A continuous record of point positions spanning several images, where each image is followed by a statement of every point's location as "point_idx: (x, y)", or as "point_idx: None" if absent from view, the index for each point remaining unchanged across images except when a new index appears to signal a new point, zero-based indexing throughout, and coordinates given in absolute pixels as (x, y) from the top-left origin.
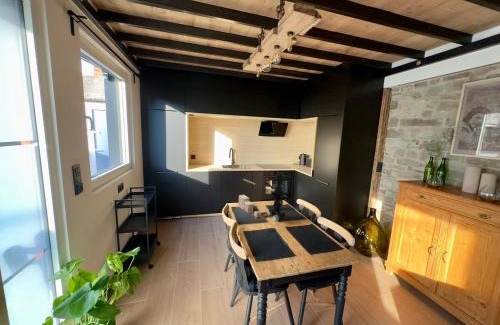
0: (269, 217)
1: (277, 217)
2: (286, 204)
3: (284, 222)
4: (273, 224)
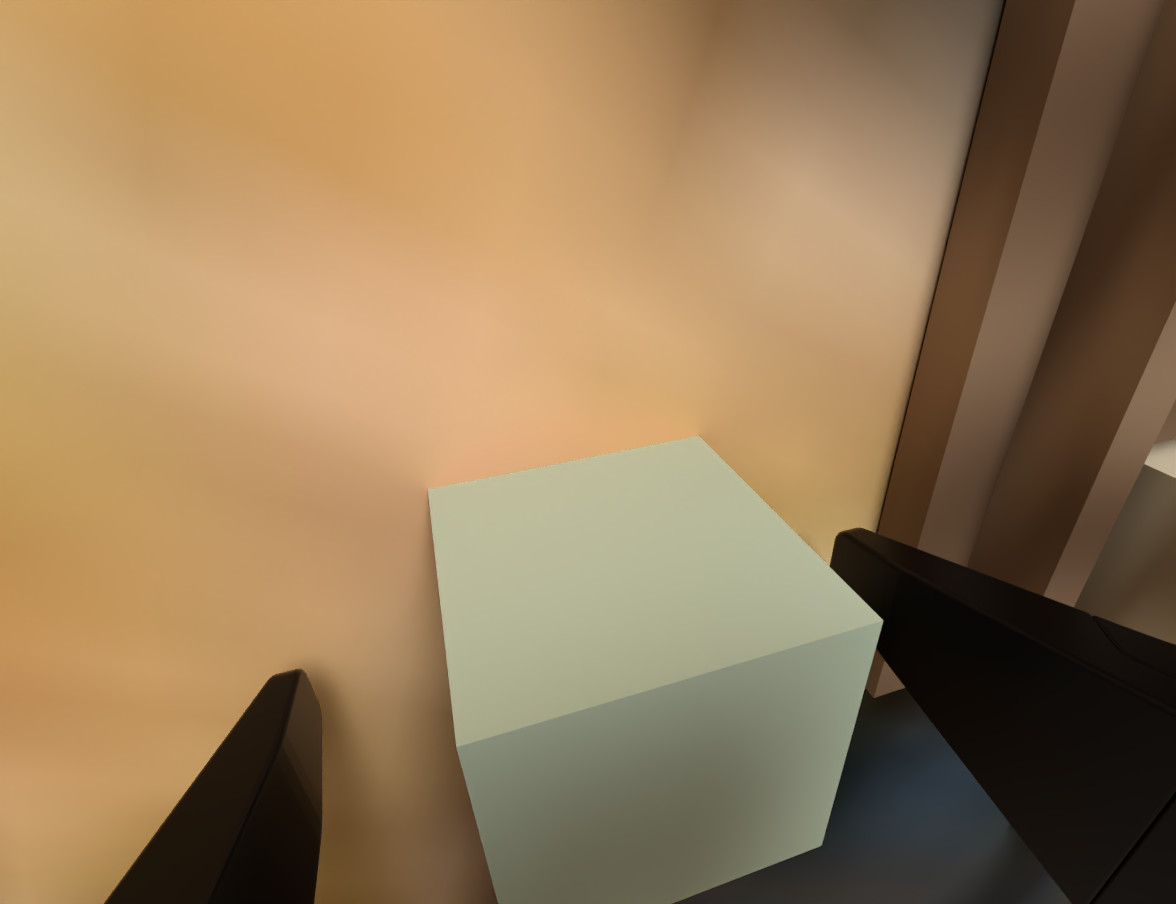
0: (970, 365)
1: (494, 850)
2: None
3: (353, 831)
4: (108, 242)
